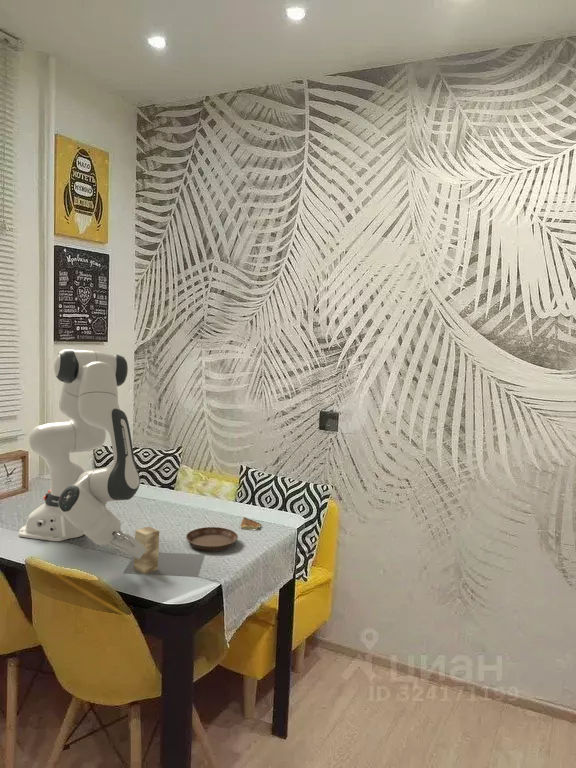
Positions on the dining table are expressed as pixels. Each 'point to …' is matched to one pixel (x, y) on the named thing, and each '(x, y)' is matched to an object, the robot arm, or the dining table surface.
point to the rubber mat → (173, 565)
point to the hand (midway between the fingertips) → (132, 553)
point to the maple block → (147, 550)
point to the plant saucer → (212, 538)
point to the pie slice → (249, 524)
